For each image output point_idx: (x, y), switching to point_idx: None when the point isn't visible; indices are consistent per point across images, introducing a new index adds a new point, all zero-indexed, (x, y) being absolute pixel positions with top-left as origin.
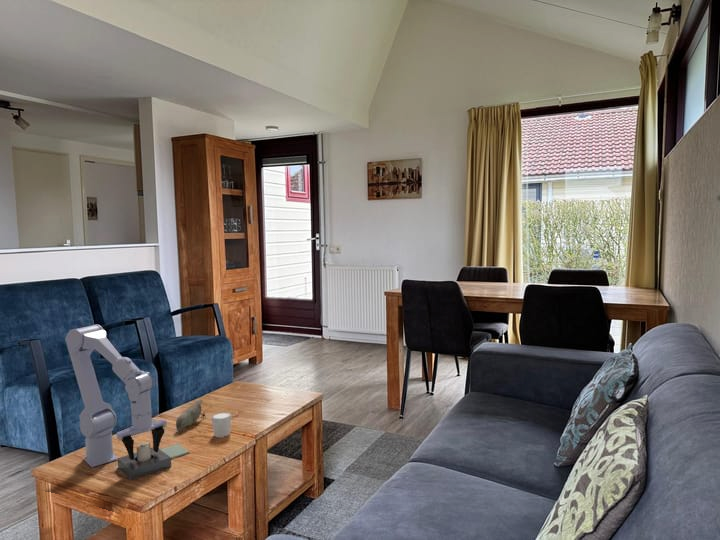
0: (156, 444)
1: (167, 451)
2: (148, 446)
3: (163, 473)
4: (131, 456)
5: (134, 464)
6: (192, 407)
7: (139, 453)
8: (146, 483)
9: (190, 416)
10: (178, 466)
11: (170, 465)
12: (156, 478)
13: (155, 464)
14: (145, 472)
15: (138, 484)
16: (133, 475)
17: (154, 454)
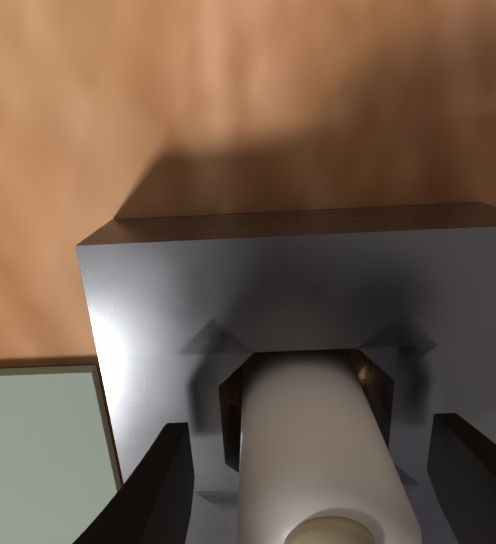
0: (162, 495)
1: (70, 489)
2: (285, 487)
3: (214, 128)
4: (487, 438)
5: (442, 345)
6: None
7: (386, 450)
8: (423, 20)
9: None
10: (53, 176)
11: (115, 222)
12: (305, 63)
13: (260, 230)
14: (361, 214)
15: (484, 62)
16: (483, 212)
17: (200, 429)
